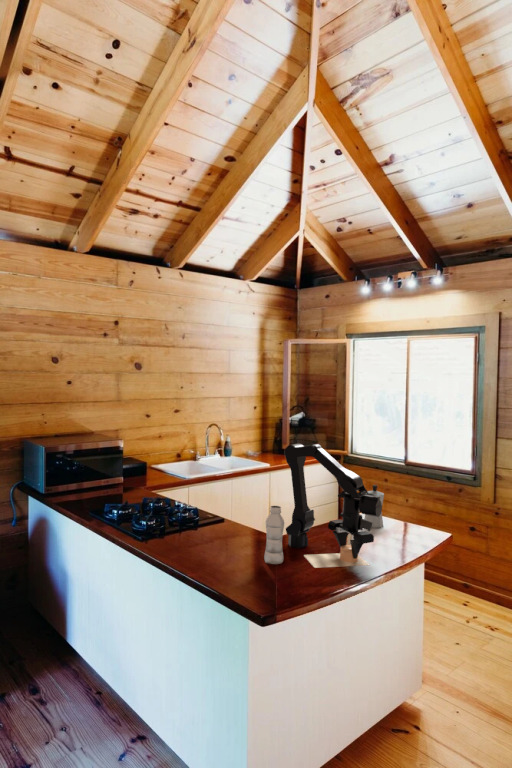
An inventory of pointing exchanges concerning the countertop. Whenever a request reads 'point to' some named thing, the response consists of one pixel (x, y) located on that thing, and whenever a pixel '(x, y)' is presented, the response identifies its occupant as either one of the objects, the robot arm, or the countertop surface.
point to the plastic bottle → (274, 536)
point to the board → (331, 560)
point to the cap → (347, 554)
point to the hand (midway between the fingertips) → (349, 555)
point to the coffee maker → (378, 520)
